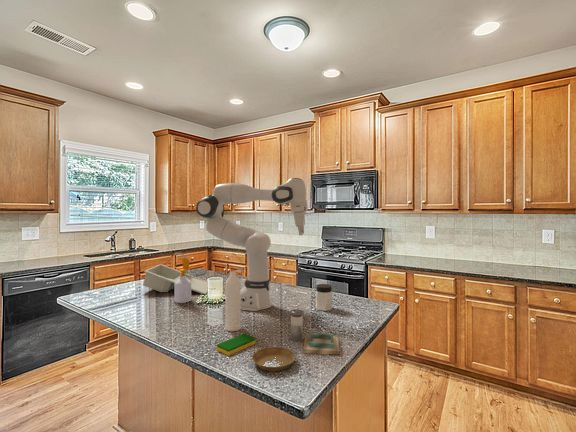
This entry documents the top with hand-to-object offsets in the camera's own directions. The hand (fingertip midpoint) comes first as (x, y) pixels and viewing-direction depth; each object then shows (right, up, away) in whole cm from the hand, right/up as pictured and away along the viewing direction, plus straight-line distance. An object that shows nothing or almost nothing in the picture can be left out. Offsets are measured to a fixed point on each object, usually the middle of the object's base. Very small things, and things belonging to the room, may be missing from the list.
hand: (301, 234), depth 165 cm
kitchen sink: (-77, -38, +37) cm, 93 cm away
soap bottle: (-67, -38, +11) cm, 78 cm away
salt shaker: (-4, -40, -39) cm, 56 cm away
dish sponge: (-27, -40, -46) cm, 67 cm away
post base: (+6, -40, -46) cm, 61 cm away
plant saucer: (-12, -41, -59) cm, 73 cm away
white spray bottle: (-31, -40, -28) cm, 57 cm away
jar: (+12, -39, 0) cm, 41 cm away
